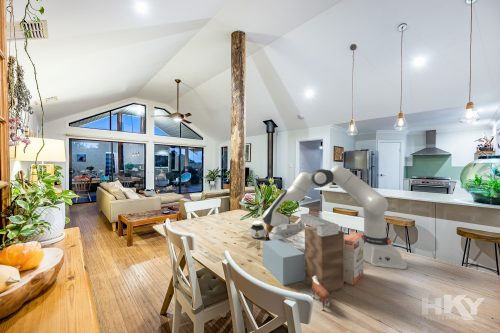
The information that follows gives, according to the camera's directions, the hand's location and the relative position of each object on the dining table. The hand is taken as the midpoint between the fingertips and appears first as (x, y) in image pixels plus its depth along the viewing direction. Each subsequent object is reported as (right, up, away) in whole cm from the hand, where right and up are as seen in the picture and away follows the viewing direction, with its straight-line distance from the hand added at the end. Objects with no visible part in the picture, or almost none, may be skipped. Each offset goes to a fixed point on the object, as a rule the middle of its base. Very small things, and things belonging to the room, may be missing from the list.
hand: (295, 225), depth 122 cm
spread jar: (-18, -21, +44) cm, 52 cm away
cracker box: (+26, -22, -15) cm, 37 cm away
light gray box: (+5, +4, -19) cm, 20 cm away
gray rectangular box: (-8, -22, -9) cm, 25 cm away
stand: (+9, -22, -21) cm, 32 cm away
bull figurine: (+3, -23, -33) cm, 40 cm away
